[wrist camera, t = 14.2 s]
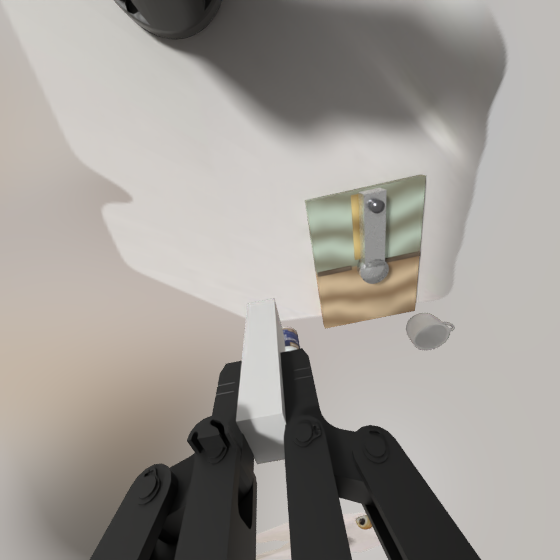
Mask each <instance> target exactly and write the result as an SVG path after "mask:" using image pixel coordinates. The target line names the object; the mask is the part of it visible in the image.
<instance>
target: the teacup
mask: <svg viewBox="0 0 560 560" xmlns="http://www.w3.org/2000/svg"><path fill="white" fill-rule="evenodd" d="M446 325H450V326H451V327H452V328H448V327H447V326H446ZM453 330H454V326H453V324H451V323H448V322H442V321H440V320H439V319H438V318H436V317H435V316H433V315H432V314H428V313H420V314H417V315H415V316H413V317H412V318H411V319H410V320H409V321H408V323H407V326H406V331H407V335H408V336H409V338H410V340H411V341H412V343H413V344H414V345H415V347H416V348H418V349H420V350H431V349H435V348H437V347H439V346H440V345H442V344H443V343H445V342H446V340H447V339H448V338H449V335H450V331H453Z"/></svg>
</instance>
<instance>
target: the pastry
mask: <svg viewBox="0 0 560 560" xmlns="http://www.w3.org/2000/svg"><path fill="white" fill-rule="evenodd" d="M356 523H357V525H358V526H359V527H360V528H361V529H370V528H371V527H372V524H371V522H370V520H369V518H368V516H367V515H364V516H361V517H358V518H357V519H356Z"/></svg>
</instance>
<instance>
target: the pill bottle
mask: <svg viewBox="0 0 560 560" xmlns="http://www.w3.org/2000/svg"><path fill="white" fill-rule="evenodd" d="M282 330H283V334H284V341H285V351H291V350H296V349H300V346H299V340H298V335H297V332H296V330H295V329H293V328H291V327H282Z"/></svg>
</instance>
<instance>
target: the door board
mask: <svg viewBox="0 0 560 560" xmlns="http://www.w3.org/2000/svg"><path fill="white" fill-rule="evenodd" d="M425 181H426V176H425V175H417V176H412V177H408V178H403V179H399V180H394V181H390V182H385V183H381V184H376V185H372V186H367V187H363V188H359V189H354V190H350V191H345V192H341V193H336V194H332V195H327V196H323V197H318V198H314V199H309V200H305V204H306V211H307V217H308V224H309V231H310V237H311V244H312V251H313V257H314V264H315V271H316V277H317V284H318V291H319V297H320V304H321V311H322V317H323V324H324V327H325V328H330V327H335V326H340V325H345V324H350V323H355V322H360V321H365V320H370V319H375V318H381V317H386V316H390V315H395V314H401V313H406V312H411V311H415V303H416V291H417V278H418V266H419V256H420V242H421V230H422V218H423V205H424V193H425ZM375 188H382V189H385V190H387V193H386V235H385V262H386V263H387V264H388V266H389V271H388V274H387V276H386V277H385V278H384V279H383V280H382V281H380V282H378V283H375V284H369V283H366V282H365V281H364V280H363V279H362V278H361V276H360V275H359V274H358V272H357V264H358V262H359V260H360V230H359V197H358V192H361V191H366V190H371V189H375Z"/></svg>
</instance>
